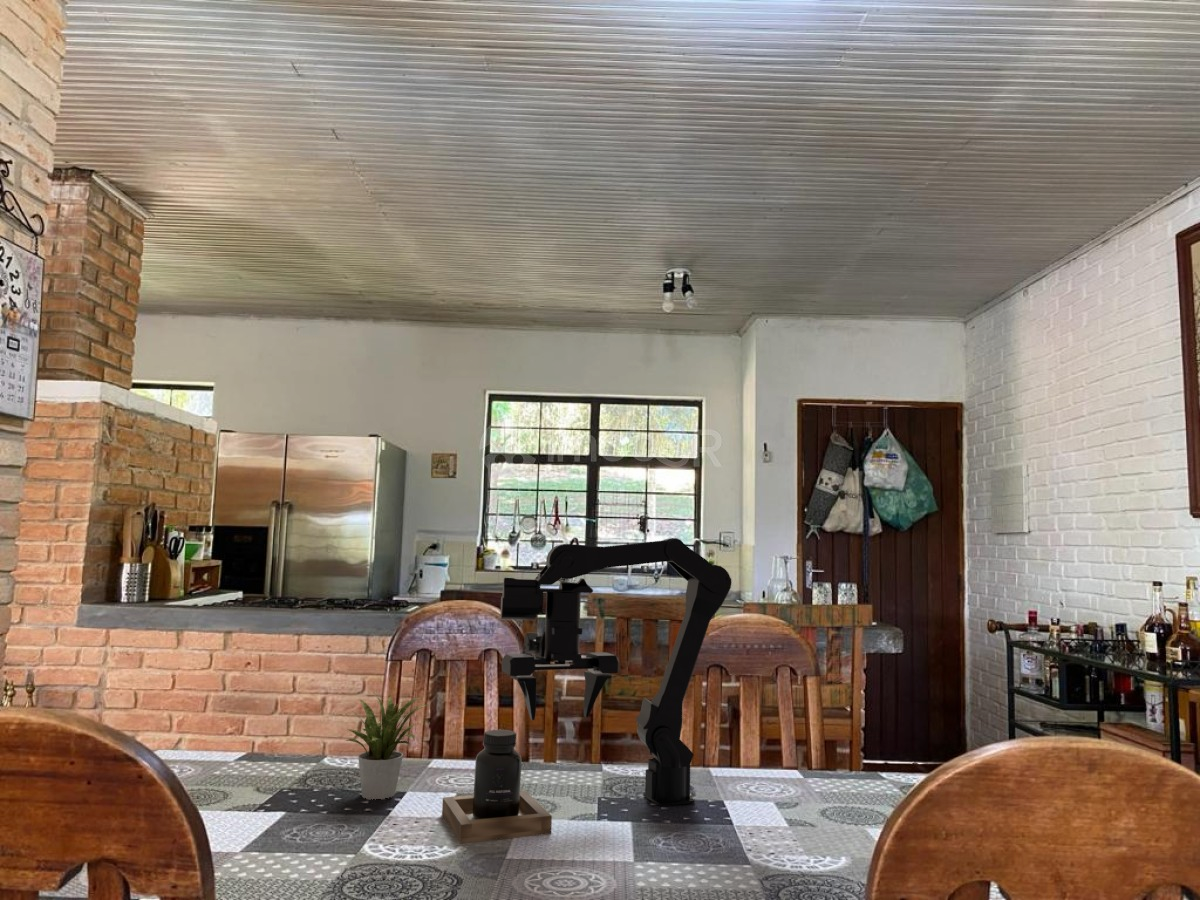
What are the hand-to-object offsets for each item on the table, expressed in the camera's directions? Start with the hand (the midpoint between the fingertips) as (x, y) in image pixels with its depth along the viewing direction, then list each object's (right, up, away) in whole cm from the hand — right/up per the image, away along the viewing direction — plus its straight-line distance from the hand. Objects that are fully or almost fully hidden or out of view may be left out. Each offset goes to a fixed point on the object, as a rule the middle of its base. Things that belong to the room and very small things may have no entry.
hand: (559, 718), depth 129 cm
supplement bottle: (-9, -11, -12) cm, 18 cm away
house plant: (-28, -13, 0) cm, 31 cm away
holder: (-9, -11, -13) cm, 19 cm away
